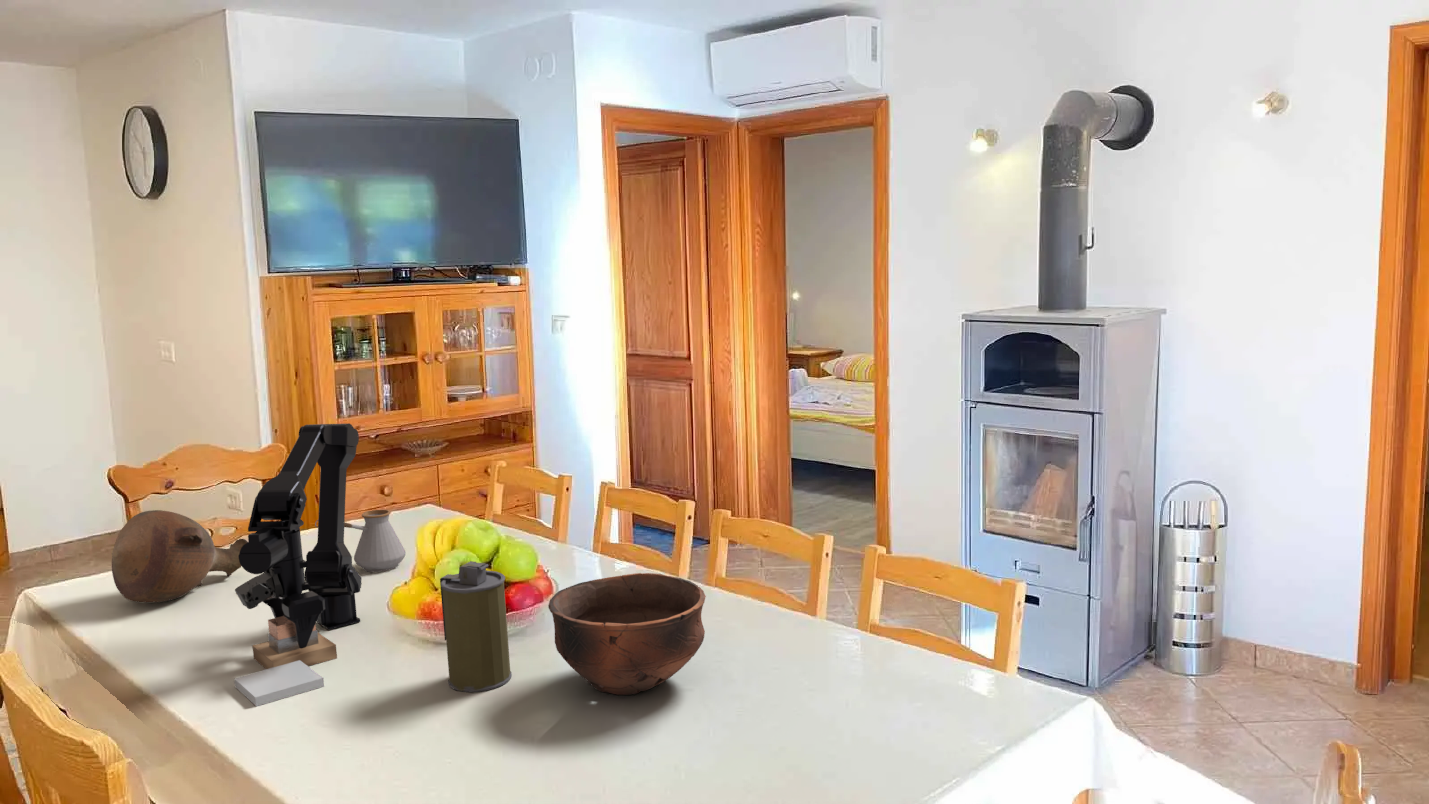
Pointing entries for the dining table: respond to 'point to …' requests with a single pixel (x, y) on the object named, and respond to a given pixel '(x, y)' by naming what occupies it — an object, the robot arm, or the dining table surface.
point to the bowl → (628, 629)
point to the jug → (167, 556)
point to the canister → (475, 628)
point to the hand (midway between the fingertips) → (293, 641)
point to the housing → (286, 635)
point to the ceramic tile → (278, 682)
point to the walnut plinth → (295, 654)
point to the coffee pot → (377, 543)
